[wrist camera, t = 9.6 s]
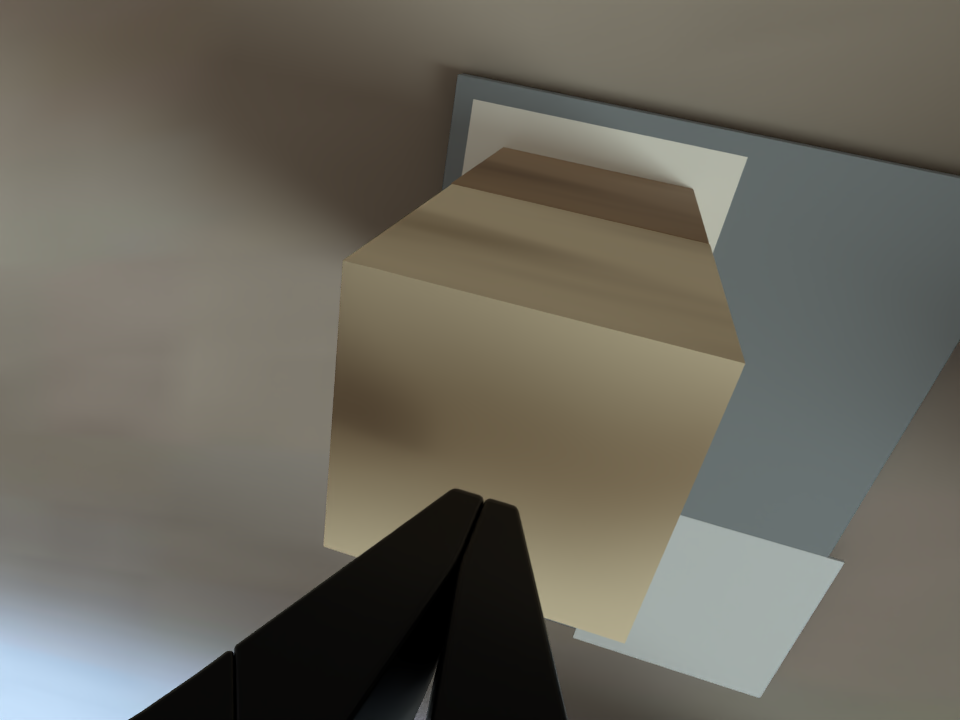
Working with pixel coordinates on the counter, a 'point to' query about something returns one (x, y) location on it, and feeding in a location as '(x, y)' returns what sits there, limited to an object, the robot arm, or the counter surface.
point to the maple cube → (531, 388)
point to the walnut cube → (589, 192)
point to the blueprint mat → (766, 353)
